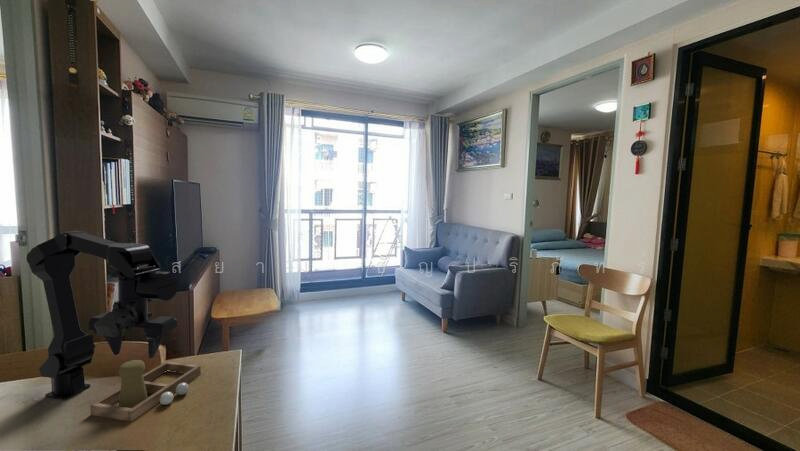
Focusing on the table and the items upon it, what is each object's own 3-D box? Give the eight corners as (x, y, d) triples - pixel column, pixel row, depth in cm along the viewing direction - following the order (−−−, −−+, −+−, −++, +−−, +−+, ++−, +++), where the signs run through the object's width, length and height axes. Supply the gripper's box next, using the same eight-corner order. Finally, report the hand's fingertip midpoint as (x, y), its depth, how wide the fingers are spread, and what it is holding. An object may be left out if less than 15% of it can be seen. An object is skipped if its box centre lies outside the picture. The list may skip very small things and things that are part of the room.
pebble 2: (172, 396, 91) (172, 385, 90) (181, 390, 94) (181, 379, 93) (182, 397, 90) (182, 387, 90) (191, 391, 93) (191, 381, 93)
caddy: (90, 414, 82) (90, 404, 82) (166, 369, 104) (166, 361, 104) (131, 421, 81) (131, 411, 80) (200, 373, 102) (200, 365, 102)
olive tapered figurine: (131, 413, 84) (130, 369, 83) (111, 409, 85) (109, 366, 84) (154, 398, 89) (152, 358, 88) (135, 395, 91) (133, 355, 90)
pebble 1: (156, 406, 86) (156, 395, 86) (166, 399, 89) (166, 388, 89) (167, 408, 86) (166, 396, 86) (176, 401, 89) (176, 390, 89)
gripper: (63, 303, 77) (66, 369, 79) (142, 309, 76) (143, 376, 77) (108, 289, 88) (110, 347, 90) (178, 294, 87) (178, 353, 89)
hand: (134, 356), depth 86 cm, fingers open, 9 cm apart
